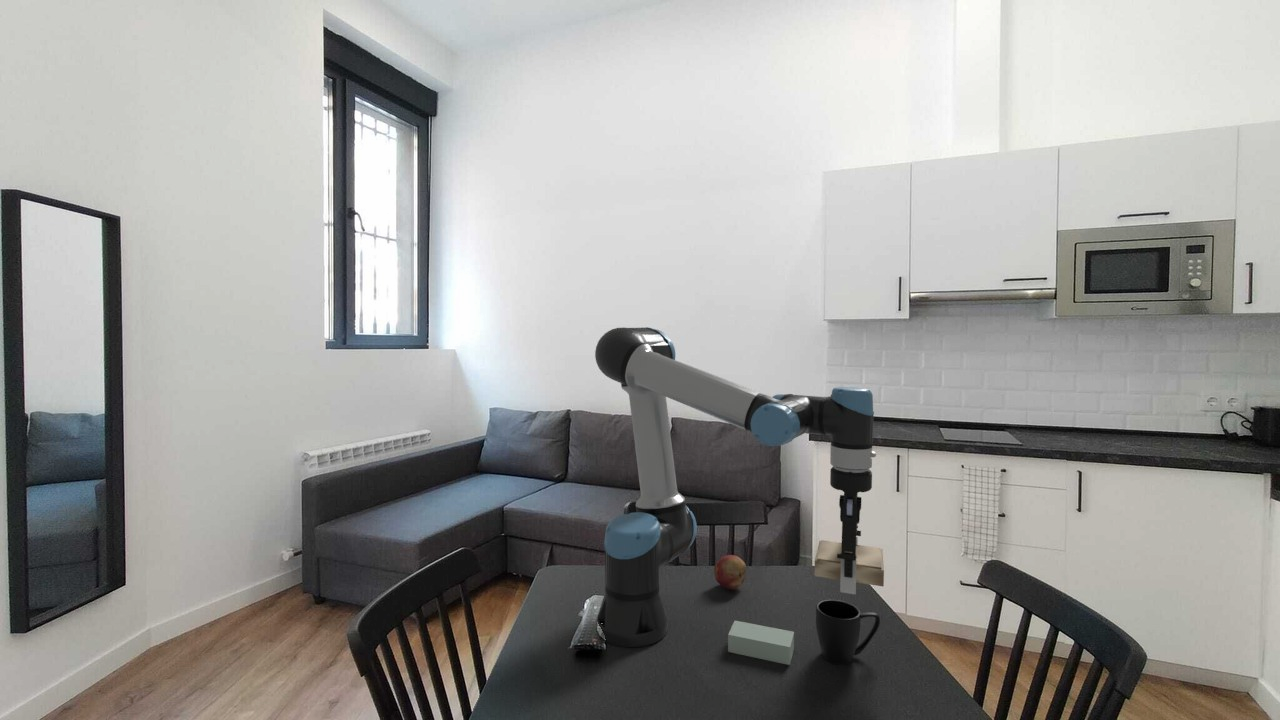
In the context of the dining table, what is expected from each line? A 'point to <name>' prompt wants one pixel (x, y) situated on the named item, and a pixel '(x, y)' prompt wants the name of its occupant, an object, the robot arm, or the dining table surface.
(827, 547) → the lid
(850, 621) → the mug
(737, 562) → the fruit
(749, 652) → the sage green box base
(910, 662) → the dining table surface
